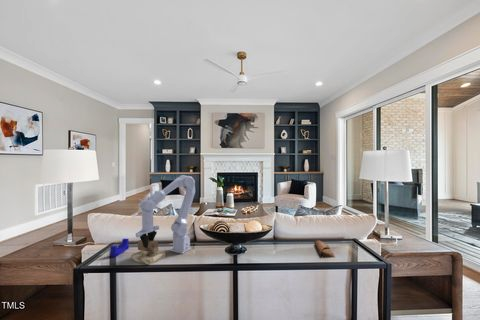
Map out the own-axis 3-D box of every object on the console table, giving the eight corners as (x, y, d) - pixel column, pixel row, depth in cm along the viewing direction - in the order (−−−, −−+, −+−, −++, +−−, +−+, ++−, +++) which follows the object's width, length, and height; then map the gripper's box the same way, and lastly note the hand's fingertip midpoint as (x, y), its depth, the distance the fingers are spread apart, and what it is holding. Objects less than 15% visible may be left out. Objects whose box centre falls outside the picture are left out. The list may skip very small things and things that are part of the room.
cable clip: (121, 248, 146) (121, 238, 146) (128, 248, 146) (128, 238, 145) (108, 256, 135) (108, 246, 134) (115, 257, 134) (115, 246, 134)
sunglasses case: (336, 257, 132) (330, 247, 132) (324, 263, 133) (318, 253, 133) (328, 244, 150) (322, 235, 150) (318, 250, 151) (312, 240, 151)
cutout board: (165, 256, 134) (165, 252, 134) (150, 265, 125) (150, 260, 124) (147, 251, 141) (147, 247, 140) (131, 259, 131) (131, 255, 131)
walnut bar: (158, 250, 131) (157, 241, 131) (154, 252, 128) (153, 243, 128) (142, 248, 136) (141, 239, 136) (138, 250, 134) (137, 241, 134)
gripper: (152, 217, 140) (152, 240, 140) (131, 224, 127) (131, 249, 127) (161, 218, 137) (162, 242, 137) (141, 226, 124) (141, 252, 124)
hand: (148, 246), depth 132 cm, fingers closed on walnut bar, 3 cm apart
